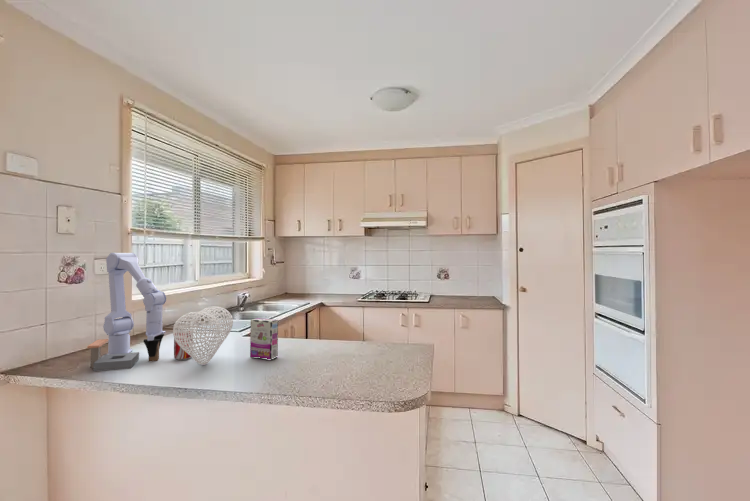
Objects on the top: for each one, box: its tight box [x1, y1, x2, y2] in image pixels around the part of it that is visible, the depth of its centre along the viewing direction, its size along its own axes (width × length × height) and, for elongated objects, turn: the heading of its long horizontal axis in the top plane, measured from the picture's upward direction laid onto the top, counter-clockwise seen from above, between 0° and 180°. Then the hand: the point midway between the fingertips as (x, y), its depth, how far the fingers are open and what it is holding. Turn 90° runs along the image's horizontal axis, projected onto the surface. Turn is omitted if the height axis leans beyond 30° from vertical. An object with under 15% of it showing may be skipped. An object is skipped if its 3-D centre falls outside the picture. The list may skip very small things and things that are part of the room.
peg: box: [148, 343, 160, 363], centre depth 153 cm, size 3×3×8 cm
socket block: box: [86, 338, 140, 372], centre depth 145 cm, size 12×14×9 cm
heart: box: [172, 305, 234, 366], centre depth 147 cm, size 28×16×22 cm, turn 177°
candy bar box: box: [249, 317, 279, 359], centre depth 158 cm, size 11×5×16 cm, turn 68°
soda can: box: [173, 328, 194, 361], centre depth 156 cm, size 7×7×12 cm
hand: (153, 354), depth 153 cm, fingers open, 6 cm apart
